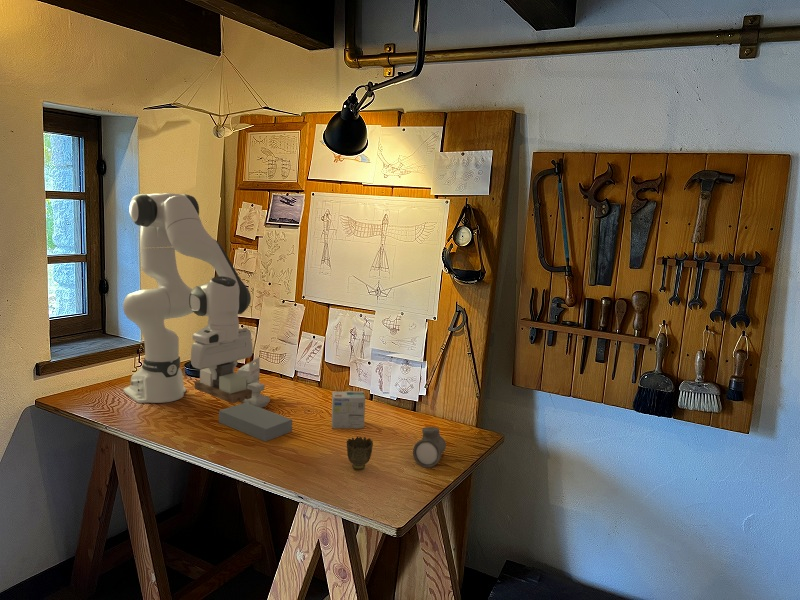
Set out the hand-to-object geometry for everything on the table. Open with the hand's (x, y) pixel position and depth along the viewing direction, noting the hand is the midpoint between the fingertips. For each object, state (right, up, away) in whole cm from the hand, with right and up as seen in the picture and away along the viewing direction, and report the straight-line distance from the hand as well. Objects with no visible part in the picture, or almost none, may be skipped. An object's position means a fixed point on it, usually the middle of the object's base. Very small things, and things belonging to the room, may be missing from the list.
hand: (222, 376), depth 187 cm
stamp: (+3, -14, +30) cm, 33 cm away
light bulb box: (+36, -18, +19) cm, 44 cm away
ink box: (-2, -13, +38) cm, 40 cm away
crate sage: (+4, -3, -2) cm, 5 cm away
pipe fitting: (+62, -24, -3) cm, 67 cm away
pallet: (0, -5, +1) cm, 5 cm away
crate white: (-4, -2, +3) cm, 5 cm away
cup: (+41, -24, -12) cm, 50 cm away
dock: (+7, -18, +12) cm, 22 cm away
